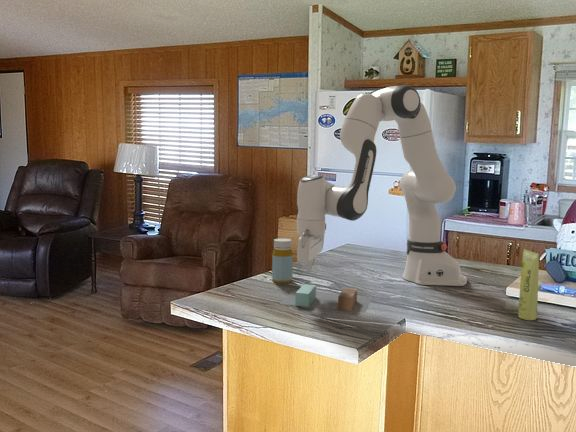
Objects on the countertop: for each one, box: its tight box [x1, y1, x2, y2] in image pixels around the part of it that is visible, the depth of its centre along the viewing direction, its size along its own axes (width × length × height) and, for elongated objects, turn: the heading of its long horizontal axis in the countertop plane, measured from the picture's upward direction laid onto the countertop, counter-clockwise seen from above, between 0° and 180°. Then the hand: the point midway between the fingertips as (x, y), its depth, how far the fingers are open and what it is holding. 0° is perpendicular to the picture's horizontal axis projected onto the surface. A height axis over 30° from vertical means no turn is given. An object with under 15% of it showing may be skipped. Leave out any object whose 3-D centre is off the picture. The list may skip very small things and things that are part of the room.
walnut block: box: [337, 287, 358, 312], centre depth 174 cm, size 4×4×10 cm
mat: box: [279, 290, 373, 313], centre depth 179 cm, size 26×16×1 cm, turn 74°
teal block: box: [295, 284, 317, 308], centre depth 177 cm, size 4×4×10 cm
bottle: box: [271, 237, 294, 284], centre depth 201 cm, size 7×7×15 cm
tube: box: [517, 248, 540, 321], centre depth 164 cm, size 6×5×20 cm
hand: (310, 271), depth 182 cm, fingers closed
